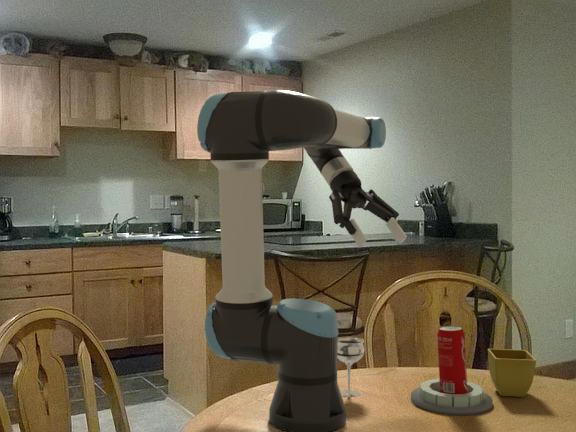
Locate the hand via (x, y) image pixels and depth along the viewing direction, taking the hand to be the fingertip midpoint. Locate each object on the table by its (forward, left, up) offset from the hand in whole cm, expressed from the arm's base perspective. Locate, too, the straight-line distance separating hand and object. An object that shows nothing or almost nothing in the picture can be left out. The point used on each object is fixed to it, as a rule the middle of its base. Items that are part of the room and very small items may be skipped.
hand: (383, 242), depth 160 cm
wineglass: (-10, -12, -33) cm, 36 cm away
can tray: (+11, -19, -33) cm, 39 cm away
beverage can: (+11, -19, -32) cm, 39 cm away
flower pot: (+26, -15, -33) cm, 44 cm away
